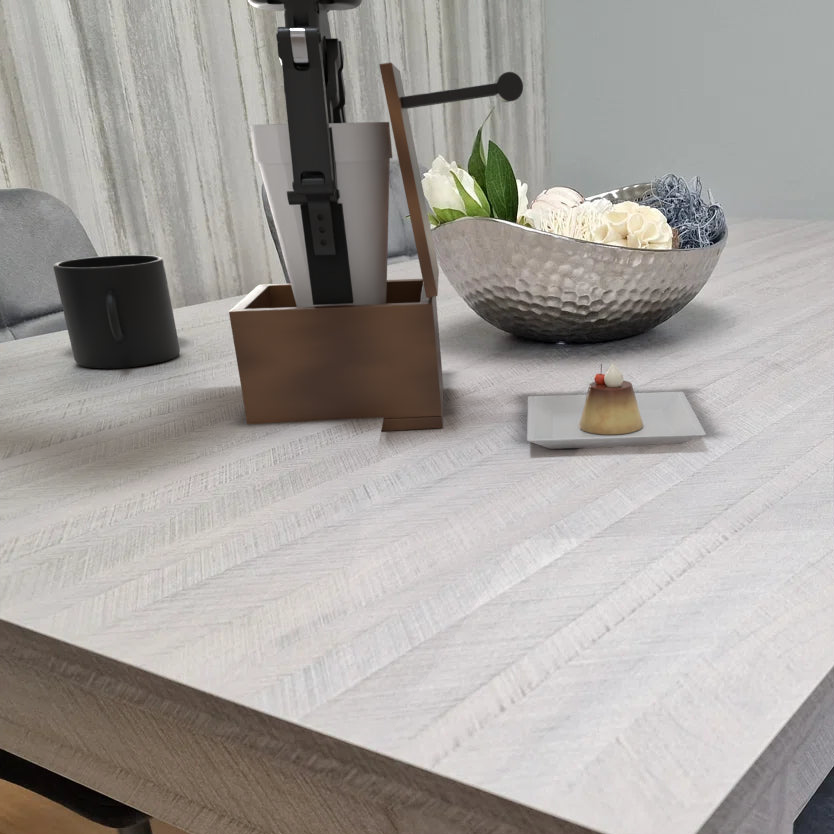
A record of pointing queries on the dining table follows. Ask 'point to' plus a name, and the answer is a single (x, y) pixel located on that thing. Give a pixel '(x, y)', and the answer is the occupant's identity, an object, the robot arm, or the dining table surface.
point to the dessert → (611, 417)
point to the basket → (340, 358)
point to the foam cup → (359, 194)
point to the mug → (117, 310)
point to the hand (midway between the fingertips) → (340, 292)
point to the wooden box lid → (505, 91)
